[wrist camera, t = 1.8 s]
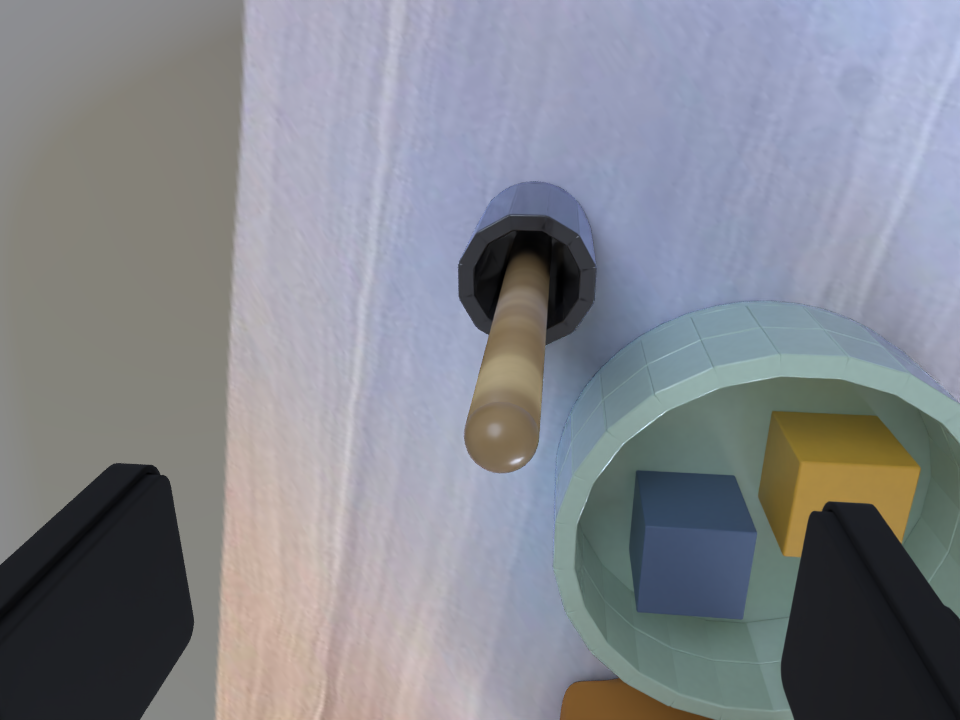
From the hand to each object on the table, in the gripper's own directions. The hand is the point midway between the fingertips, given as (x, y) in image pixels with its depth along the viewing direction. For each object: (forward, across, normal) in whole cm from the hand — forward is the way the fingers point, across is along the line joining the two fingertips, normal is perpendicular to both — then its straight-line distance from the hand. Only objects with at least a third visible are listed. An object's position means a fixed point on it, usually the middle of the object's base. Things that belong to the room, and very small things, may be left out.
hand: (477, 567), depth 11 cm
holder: (+19, 0, -1) cm, 19 cm away
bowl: (+19, -9, +9) cm, 23 cm away
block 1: (+19, -7, +11) cm, 23 cm away
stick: (+19, 0, -1) cm, 19 cm away
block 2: (+19, -12, +8) cm, 23 cm away
